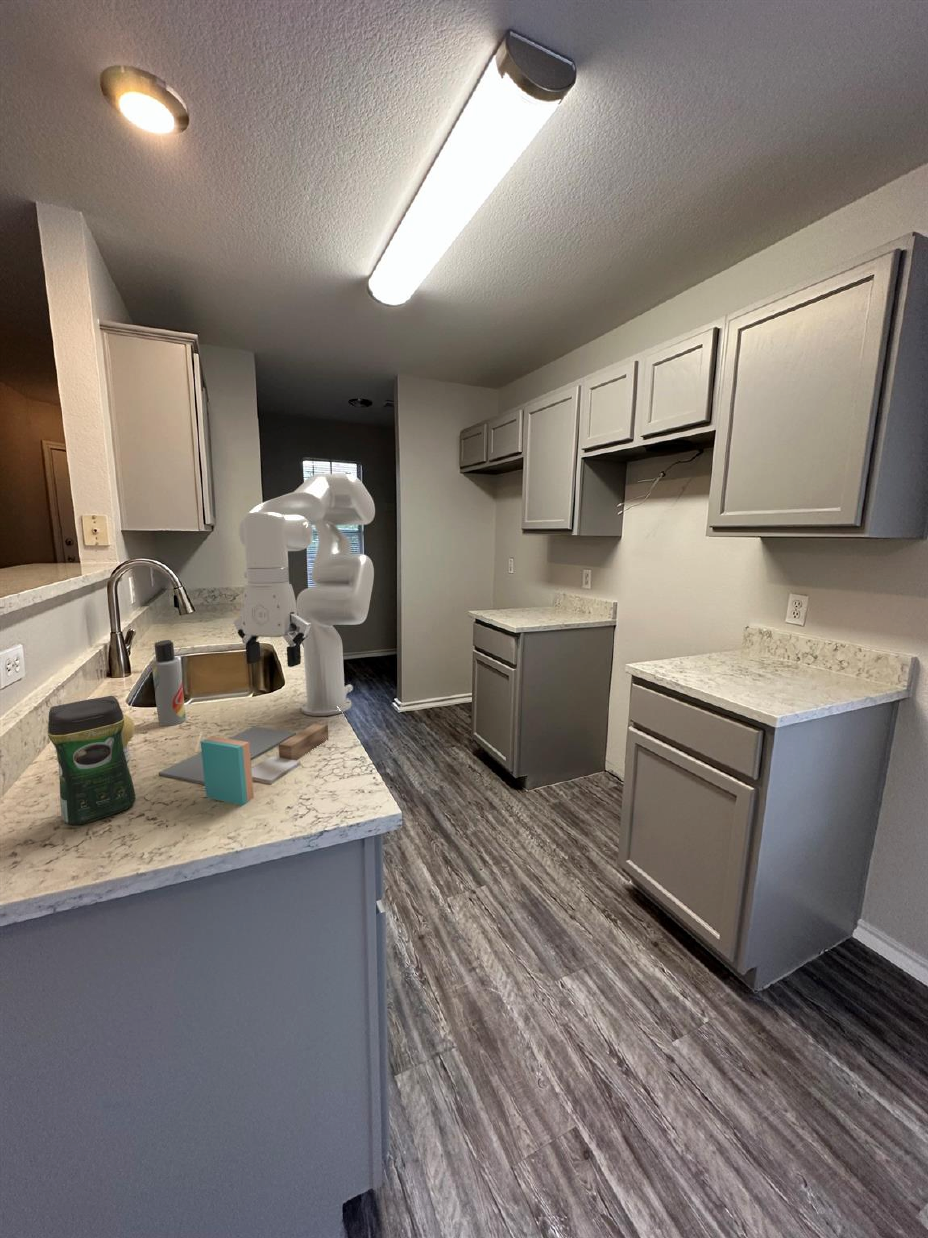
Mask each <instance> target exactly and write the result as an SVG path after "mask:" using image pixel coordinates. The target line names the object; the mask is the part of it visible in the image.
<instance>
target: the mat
mask: <svg viewBox="0 0 928 1238" xmlns="http://www.w3.org/2000/svg"><path fill="white" fill-rule="evenodd" d="M296 734H297V732H296V731H287V730H283V729H282V730H281V729H275V728H268V727H260V726H256V725H254V726H251V727H249V728H248V729H246V730H243V731H241V732H239V733H237V734H235V735H233V736H230V737H229V738H228V739H232V740H238V741H244V742H249V747H250V759H251V761H253V760H255V759H257V758H258V757H260V756H262V755H264V754H265V753H267V752H268V751H271V750H272V749H274V748H276V747H279V745H278V744H280V743H282V742H283V741H285V740H287V739H289V738H290V737H292V736H294V735H296ZM158 775H159V776H163V777H167V778H172V779H177V780H182V781H186V782H190V783H195V784H202V785H205V782H204V772H203V762H202V753H201V751H200V752H198V753H196V754H194V755H192V756H190V757H188V758H186V759H183V760H181V761H180V762H177V763H175V764H173V765H171V766H170V767H167V768H165V769H163V770H161V771H159V772H158Z"/></svg>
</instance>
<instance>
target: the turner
mask: <svg viewBox="0 0 928 1238" xmlns="http://www.w3.org/2000/svg"><path fill="white" fill-rule="evenodd" d="M326 740H327V741H329V724H327V723H320V722H315V723H313V724H311V725H310V726H308V727H306V728H304V729H303V730H301V731H299V732H298V733H297V732H296V735H294V736H292V737H290V738H289V739H287V740H285V741H283V742H282V743H280V744H278V756H273V755H272V756H269V757H268V758H266V759H264V760H262V761H260V762H259V763H257V764H256V765H254V766H251V771H252V782H253V781H255V782H258V783H263V784H268V785H269V784H270V785H272V784H274V783H275V782H277V781H279V780H280V779H282V778H283V777H285V776H286V775H288V774H289V773H291V772H292V771H293V770H295V769H297V768H298V767H300V766H301V760H299V759H301V758H303V757H305V754H306V755H307V754H309V753H310V752H312V751H313V750H315V749H317V748H318V747H320V746H321V745H323V744H324V743H326V742H327V741H326ZM325 741H326V742H325ZM322 743H323V744H322ZM320 744H321V745H320ZM319 745H320V746H319ZM317 746H318V747H317ZM314 748H315V749H314ZM312 749H313V750H312ZM311 750H312V751H311ZM308 752H309V753H308Z"/></svg>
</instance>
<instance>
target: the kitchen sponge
mask: <svg viewBox="0 0 928 1238" xmlns="http://www.w3.org/2000/svg"><path fill="white" fill-rule="evenodd" d="M199 743H200V750H201V751H200V752H201V753H202V762H203V772H204V782H205V784H204V789H205V790H204V791H205V792H204V793H205V798H208V799H212V800H213V799H214V800H218V801H222V802H225V803H231V804H236V805H241V806H244V805H246V804H247V803H249V802H251V801H252V800H253V799H254V798H255V796H254V795H255V794H254V785H253V780H252V771H251V768H252V763H251V762H252V760H251V759H250V747H249V742H244V741H238V740H232V739H229V738H226V737H225V738H224V737H219V736H210V737H207V738H205V739H204V740H201V741H200V742H199Z"/></svg>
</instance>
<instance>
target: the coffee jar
mask: <svg viewBox="0 0 928 1238" xmlns="http://www.w3.org/2000/svg"><path fill="white" fill-rule="evenodd" d="M123 715H124V712H123V710H122V708H121V705H120V702H119V700H118V699H117V698H116V697H115V696H114V695H107V696H102V697H96V698H90V699H84V700H80V701H79V700H78V701H74V702H73V701H72V702H69V703H65V704H64V703H63V704H59V705H54V706H51V708H50V709H49V711H48V722H47V723H48V724H47V728H48V729H47V735H48V738H49V741H50V742H51V744H52V745H53V746H54V748H55V751H56V758H57V762H58V763H57V764H58V775H59V776H58V777H59V780H58V781H59V801H60V803H59V805H60V813H61V817H62V820H63V821H64V823H66V824H69V825H76V826H77V825H82V824H86V823H90V822H94V821H97V820H100V819H102V818H103V819H104V818H105V817H109V816H112V815H114V814H115V815H116V814H117V813H120V812H122V811H125V810H127V809H128V808H130V807H131V806H132V805H133V804H134V803H135V801H136V792H135V787H134V786H135V785H134V782H133V778H132V776H131V771H130V768H129V765H128V762H127V761H126V757H125V753H124V748H123V742H122V729H123V726H124V716H123Z"/></svg>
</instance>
